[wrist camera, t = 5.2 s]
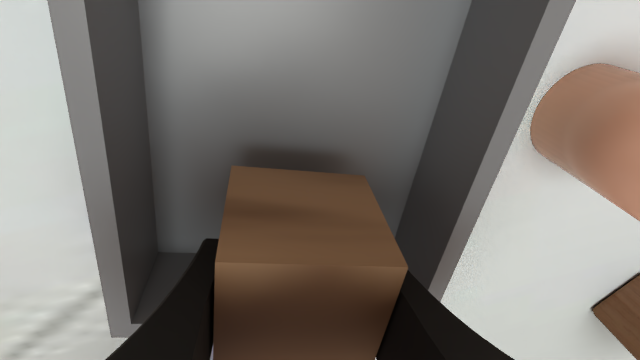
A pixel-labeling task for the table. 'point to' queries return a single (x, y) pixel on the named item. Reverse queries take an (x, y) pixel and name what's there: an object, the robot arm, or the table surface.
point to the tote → (290, 117)
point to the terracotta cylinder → (594, 131)
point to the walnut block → (303, 268)
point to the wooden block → (623, 315)
